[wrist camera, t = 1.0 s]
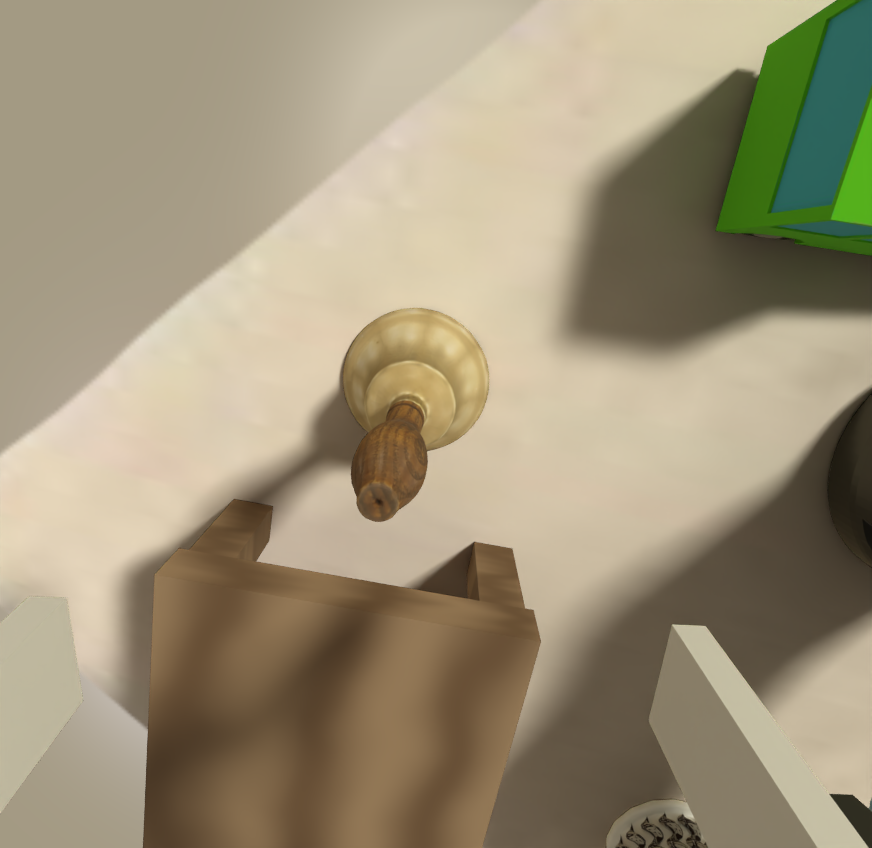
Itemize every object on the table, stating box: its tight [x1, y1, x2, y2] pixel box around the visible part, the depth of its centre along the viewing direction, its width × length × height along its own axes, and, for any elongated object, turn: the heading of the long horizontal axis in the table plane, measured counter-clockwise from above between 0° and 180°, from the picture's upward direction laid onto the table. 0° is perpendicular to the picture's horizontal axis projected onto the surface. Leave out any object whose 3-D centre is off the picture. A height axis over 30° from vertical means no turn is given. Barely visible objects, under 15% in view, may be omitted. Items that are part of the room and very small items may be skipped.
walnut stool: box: [143, 499, 541, 848], centre depth 32 cm, size 18×18×9 cm
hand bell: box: [343, 308, 489, 522], centre depth 24 cm, size 8×8×16 cm
